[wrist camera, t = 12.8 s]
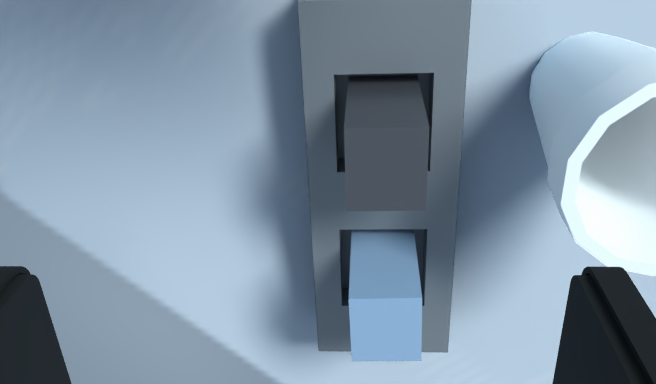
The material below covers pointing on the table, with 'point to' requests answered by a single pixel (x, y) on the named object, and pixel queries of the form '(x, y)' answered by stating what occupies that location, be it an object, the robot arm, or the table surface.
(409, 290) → the block
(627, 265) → the foam cup
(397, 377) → the table surface
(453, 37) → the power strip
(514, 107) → the table surface
